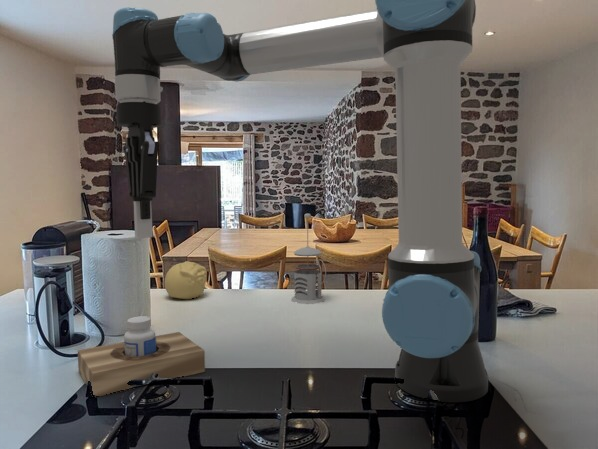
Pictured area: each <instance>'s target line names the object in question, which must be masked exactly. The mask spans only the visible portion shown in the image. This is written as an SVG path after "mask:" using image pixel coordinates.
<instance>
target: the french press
mask: <svg viewBox="0 0 598 449" xmlns="http://www.w3.org/2000/svg"><path fill="white" fill-rule="evenodd" d="M304 218H306V220H307V222H306V224H307V225H306V226H307V227H306V228H307V230H306V231H307V234H306V235H307V236H306V239H307V241H306V242H307V243H306V244H307V245H306V247H301V248H299V249H297V250H295V251H294V252H293V254H294V256H297V257H307V262H306V264H304V263H303V264H302V263H301V264H297V265H296V266H295V269H297V270H295V271H293V272H294V274H293V275H294V276H293V277H294V290H293V291H294V296H292V297H291V299H292V300H291V302H293V301H294V303H295V302H297V303H296V304H301V305H302V304H303V305H314V304H320V303H323V302H324V301H325V300H326V299H325V297H323V296H322V284H324V282H325V281H326V277H327V269H326V265H325V263H324V261H323V260H322V259H321V258H318V260H317V259H314V260H313V263H314V264H313V263H312V264H310V263H309V257H319V256H320V255H322V254H323V252H322V251H321V250H319V249H318V248H315V247H312V246H309V218H312V214H311V213H305V214H304ZM320 261H321V262H322V264H323V267H324V279H323V281H322V267H321V264H320ZM319 269H320V270H319ZM316 280H317V281H316Z"/></svg>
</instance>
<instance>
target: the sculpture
mask: <svg viewBox="0 0 598 449" xmlns="http://www.w3.org/2000/svg"><path fill="white" fill-rule="evenodd" d="M207 272H208V271H207V268H206V267H205V266H202V265H201V264H199V263H196V262H193V261H188V260H187V261H186V260H185V261H184V262H180V263H177V264H174V265H172V266H171V267H170V268H169V270H168V271H167V272H166V273H165V274H166V275H165V278H164V287H165V288H164V289H165V291H166V294H167V295H168V296H169V297H171V298H175V299H182V300H193V299H192V298H194V299H197V298H199V297H200V296H201V295H202V294H203V292H204V291H205V287H206V282H207ZM196 297H197V298H196Z"/></svg>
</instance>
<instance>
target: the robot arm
mask: <svg viewBox="0 0 598 449" xmlns="http://www.w3.org/2000/svg"><path fill="white" fill-rule="evenodd" d="M374 3H375V5H376V9H372V10H366V11H362V12H361V11H360V12H354V13H348V14H343V15H338V16H331V17H326V18H321V19H314V20H309V21H302V22H298V23H297V22H295V23H292V24H284V25H278V26H274V27H273V26H272V27H268V28H262V29H257V30H250V31H245V32H240V33H234V34H225V33H224V31H223V28H222V26H221V24H220V22H218V20H217V18H216V17H215V16H214V15H213V14H212V13H208V12H196V13H195V12H190V13H185V14H183V15H182V14H181V15H177V16H172V17H166V18H160V19H158V18H159V17H158V15H157V14H156V13H155V12H153V11H152V10H149V9H147V8H144V7H122V8H120V9H118V10H116V11H115V13H114V15H113V20H112V21H113V23H112V34H111V35H112V40H113V42H112V43H113V56H114V89H115V90H114V93H115V96H114V97H115V100H116V101H117V102H119V103H117V105H116V107H115V108H116V109H115V110H116V124H117V126H119V127H123V128H127V129H128V131H127V137H126V138H125V145H123V148H122V149H123V152H124V153H123V154H124V157H125V164H126V165H125V167H126V174H127V175H126V176H127V183H128V184H127V185H128V196H129V198H131V199H132V202H133V219H134V220H133V221H134V222H133V223H134V238H136V239H145V238H146V239H147V238H153V237H154V236H153V210H152V201H153V198H156V196H157V176H158V175H157V174H158V156H159V150H160V143H159V141H155V140H156V139H155V137H154V132H153V129H156V128H159V127H161V126H162V117H163V116H162V106H161V105H159V103H160V102H161V101H162V100H161V96H162V95H161V93H162V92H163V91H164V87H163V86H161V68H164V67H165V68H166V67H173V66H187V67H190V68H193V69H196V70H197V71H201V72H204V73H208V74H209V75H213V76H214V77H218V78H220V79H222V80H224V81H229V82H230V81H231V82H235V83H236V82H237V83H238V82H242V81H244V80H246V79H247V78H248V77H249V76H250V75H257V74H265V73H267V74H268V73H273V72H281V71H288V70H296V69H304V68H312V67H318V66H326V65H334V64H341V63H349V62H351V63H352V62H357V61H363V60H365V61H366V60H372V59H380V58H383V61H384V62H385V63H386V64H388V65H389V67H391V68H392V69H393V70H394V76H395V115H396V116H395V122H396V129H395V130H396V165H397V166H396V168H397V169H396V170H397V171H396V172H397V173H396V174H397V176H396V177H397V210H398V211H397V218H398V219H397V220H398V221H397V222H398V223H397V224H398V243H397V245H396V246H395V247H394V248H393V249H392V250H391V251H390V252H389V253H388V256H387V262H388V289H387V291H386V292H385V296H384V298H383V299H382V300H383V303H382V309H381V316H382V318H381V319H382V322H383V326H384V329H385V331H386V332H387V334H388V336H389V337H390V339H391V340H392V341H393V342H394V343H395V344H396V345H397V346H399V348H400V349H401V350H400V353H399V357H398V360H397V361H396V364H395V367H394V368H395V369H394V371H395V372H394V378H395V377H396V378H401V379H404V383H403V384H396V385H397V386H398V387H399V389H401V390H402V391H404V392H406V393H408V394H409V395H412V396H415V397H418V398H420V397H421V399H424V398H427V397H428V392H429V391H430V390H432V391H434V393H435V394H436V395H437V397H438V398H439V400H440V401H441V403H442V402H443V403H467V402H471V401H475V400H478V399H481V398H482V397H484V396H485V395H486V394H487V393H488V392H489V373H488V372H487V370H486V366H485V362H484V358H483V355H482V351H481V348H480V344H479V320H480V319H479V318H480V316H479V315H480V313H479V312H480V282H481V281H480V280H481V278H480V277H481V272H482V266H481V258H480V254H478V253H477V252H476V251H474V250H470V249H469V248H468V247H467V246H466V245H465V244H464V243H463V207H462V206H463V194H462V193H463V188H462V185H463V184H462V180H463V179H462V178H463V177H462V173H463V172H462V170H463V169H462V98H461V97H462V95H461V93H462V91H461V88H462V87H461V86H462V85H461V82H462V81H461V80H462V79H461V78H462V77H461V76H462V74H461V72H462V71H461V65H462V64H463V62H465V60H466V59H467V58H468V57H469V56H470V55H471V53H472V52H473V27H474V24H475V20H476V14H477V10H476V9H477V7H476V6H477V5H476V0H375V2H374ZM440 401H439V402H440Z"/></svg>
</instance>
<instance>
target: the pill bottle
mask: <svg viewBox="0 0 598 449" xmlns="http://www.w3.org/2000/svg"><path fill="white" fill-rule="evenodd" d="M126 324H127V326H126V327H127V329H128V331H126V332H125V333H124V336H123V342H124V345H125V355H127V356H145V355H150V354H152V353H155V352H156V336H157V335H156V331H155V330H154V329H153V328H151V326H152V323H151V318H150V316H146V315H145V316H144V315H143V316H142V315H140V316H134V317H130V318H127V321H126Z"/></svg>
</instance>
